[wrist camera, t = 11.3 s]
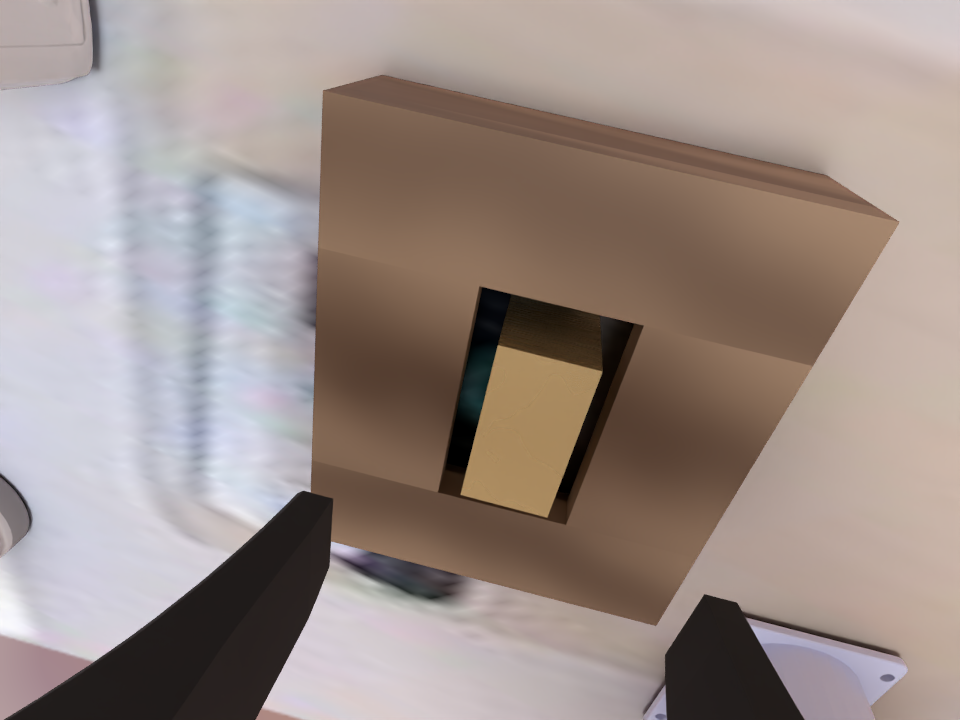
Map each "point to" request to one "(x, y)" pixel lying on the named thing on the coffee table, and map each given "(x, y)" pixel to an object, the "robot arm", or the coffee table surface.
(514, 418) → the tan flat rectangular block
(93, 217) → the coffee table surface
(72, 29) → the photo printer
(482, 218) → the walnut coin box
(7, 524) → the travel mug
